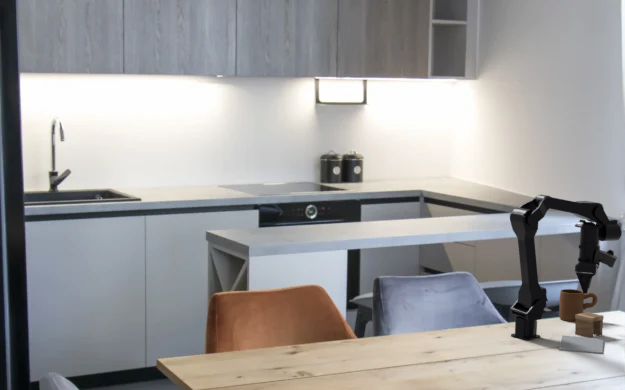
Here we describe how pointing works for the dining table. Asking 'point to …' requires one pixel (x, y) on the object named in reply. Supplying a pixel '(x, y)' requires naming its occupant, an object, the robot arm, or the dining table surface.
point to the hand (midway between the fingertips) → (586, 290)
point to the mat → (581, 344)
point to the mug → (574, 303)
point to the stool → (588, 324)
